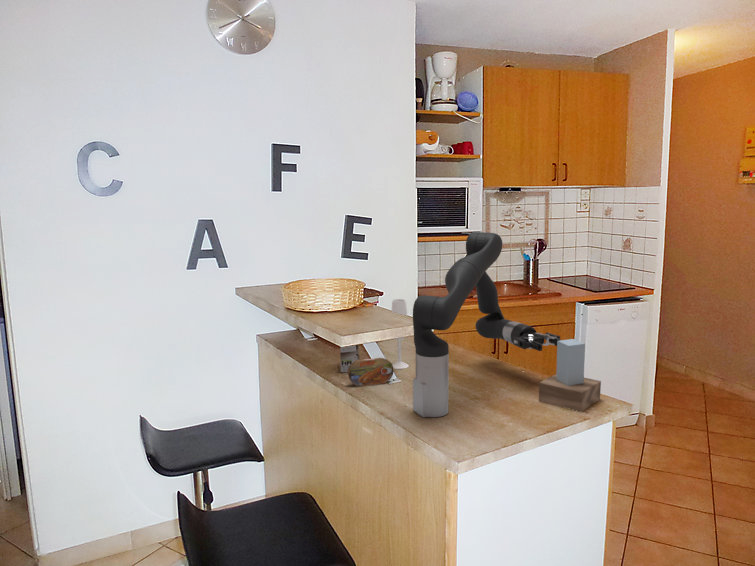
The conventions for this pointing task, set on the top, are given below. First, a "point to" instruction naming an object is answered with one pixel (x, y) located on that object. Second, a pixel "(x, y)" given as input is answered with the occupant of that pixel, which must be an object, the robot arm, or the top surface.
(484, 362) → the top surface
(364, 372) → the tin
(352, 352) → the coffee box
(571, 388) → the walnut block
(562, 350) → the slate block
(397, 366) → the champagne flute
